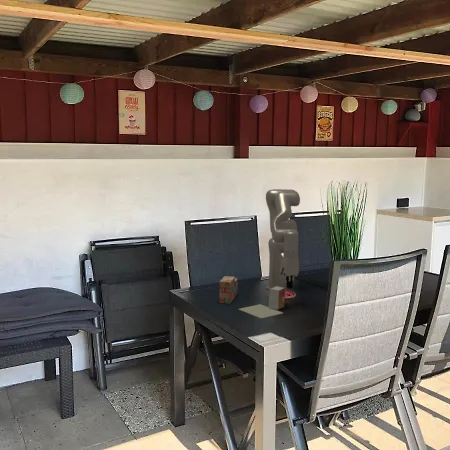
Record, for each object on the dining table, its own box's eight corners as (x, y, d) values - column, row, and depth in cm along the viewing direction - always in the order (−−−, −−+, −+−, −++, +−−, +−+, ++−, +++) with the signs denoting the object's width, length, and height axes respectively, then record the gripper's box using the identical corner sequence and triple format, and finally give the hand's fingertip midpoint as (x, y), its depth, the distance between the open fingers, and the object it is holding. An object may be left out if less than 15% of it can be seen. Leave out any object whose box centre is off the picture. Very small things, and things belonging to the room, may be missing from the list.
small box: (277, 310, 261) (279, 290, 259) (268, 308, 263) (269, 288, 262) (284, 306, 267) (285, 287, 266) (275, 305, 270) (276, 285, 269)
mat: (260, 304, 270) (260, 304, 270) (283, 313, 256) (283, 312, 256) (238, 309, 261) (238, 308, 261) (261, 318, 247) (261, 318, 247)
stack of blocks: (227, 292, 293) (227, 272, 292) (237, 293, 292) (238, 272, 290) (219, 303, 273) (219, 281, 271) (230, 304, 271) (230, 281, 270)
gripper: (295, 251, 274) (294, 284, 277) (275, 254, 265) (274, 288, 268) (305, 254, 268) (304, 287, 271) (285, 256, 259) (284, 291, 262)
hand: (289, 287), depth 269 cm, fingers closed
